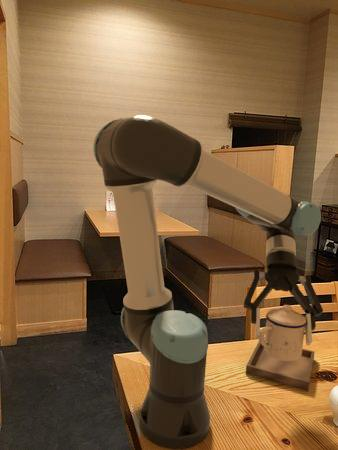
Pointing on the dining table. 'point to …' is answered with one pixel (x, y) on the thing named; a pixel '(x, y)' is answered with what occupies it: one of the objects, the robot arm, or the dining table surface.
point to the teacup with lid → (283, 334)
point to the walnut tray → (281, 368)
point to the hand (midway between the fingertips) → (282, 340)
